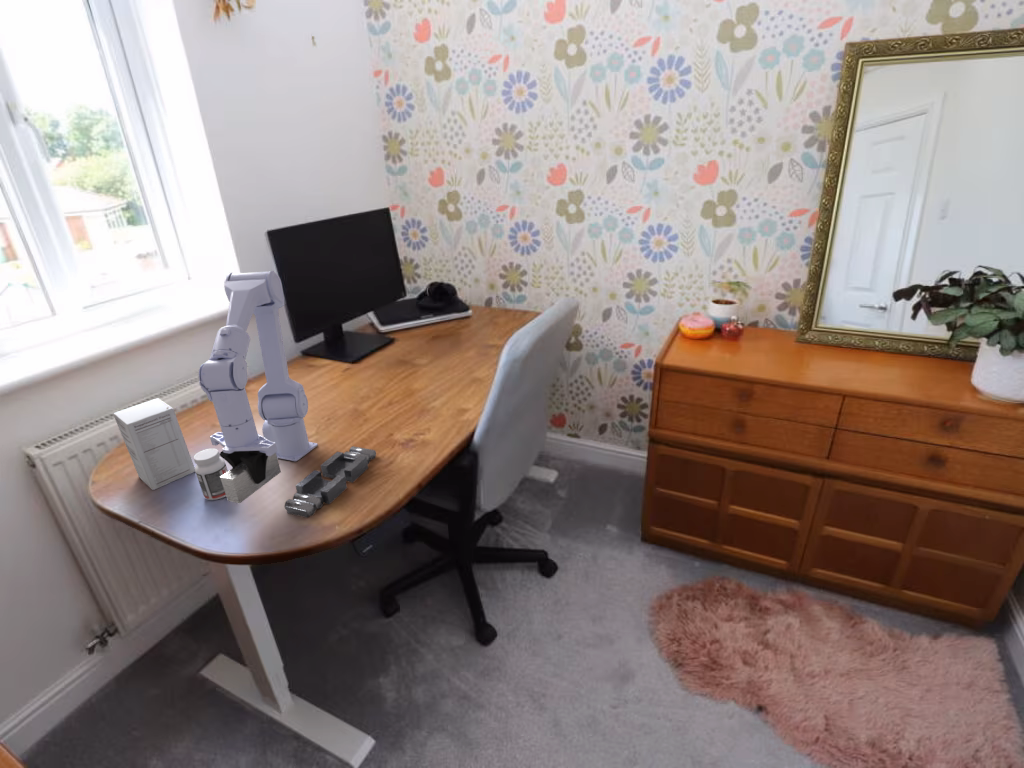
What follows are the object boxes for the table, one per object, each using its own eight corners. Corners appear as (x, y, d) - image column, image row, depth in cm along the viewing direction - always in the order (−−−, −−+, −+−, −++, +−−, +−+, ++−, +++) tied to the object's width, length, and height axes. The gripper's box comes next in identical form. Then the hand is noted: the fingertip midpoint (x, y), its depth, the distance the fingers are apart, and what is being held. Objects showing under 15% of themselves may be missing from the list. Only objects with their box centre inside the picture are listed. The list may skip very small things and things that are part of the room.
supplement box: (181, 458, 128) (159, 396, 121) (197, 471, 122) (175, 406, 115) (136, 477, 121) (111, 412, 114) (151, 491, 116) (125, 424, 109)
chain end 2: (322, 476, 118) (320, 465, 117) (352, 451, 128) (350, 440, 127) (352, 482, 116) (350, 471, 115) (380, 456, 125) (378, 445, 124)
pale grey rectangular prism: (227, 500, 101) (220, 476, 99) (269, 469, 110) (263, 447, 108) (239, 503, 100) (232, 479, 98) (281, 472, 110) (275, 449, 107)
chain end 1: (281, 511, 107) (278, 499, 106) (317, 481, 117) (314, 470, 115) (313, 519, 105) (310, 506, 104) (347, 487, 114) (344, 476, 113)
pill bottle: (238, 484, 117) (226, 446, 113) (226, 500, 112) (213, 460, 108) (212, 486, 117) (199, 447, 113) (199, 501, 112) (185, 462, 107)
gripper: (189, 424, 98) (209, 484, 104) (249, 435, 93) (267, 497, 99) (220, 407, 104) (237, 465, 110) (278, 417, 99) (293, 477, 105)
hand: (253, 479), depth 105 cm, fingers closed on pale grey rectangular prism, 3 cm apart
